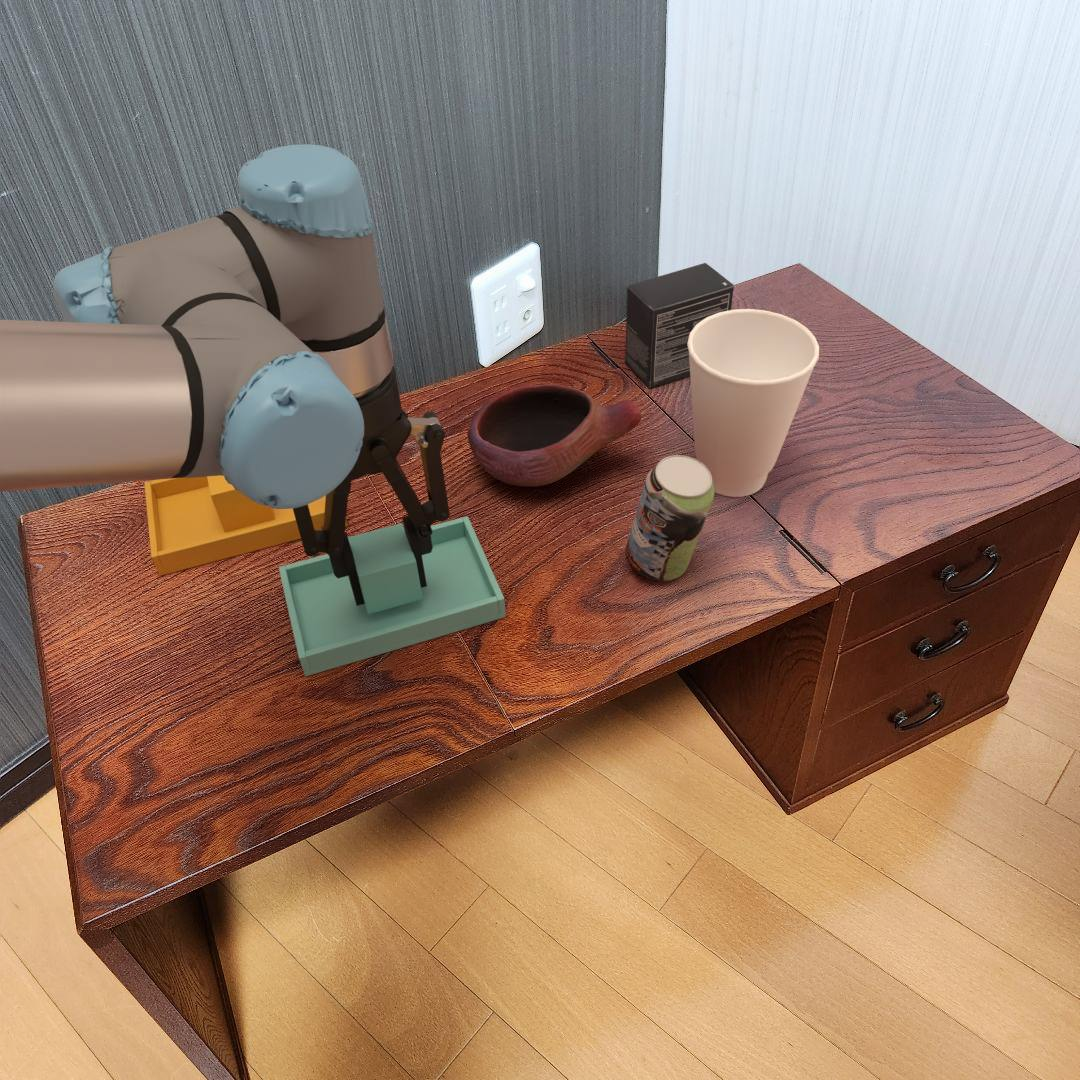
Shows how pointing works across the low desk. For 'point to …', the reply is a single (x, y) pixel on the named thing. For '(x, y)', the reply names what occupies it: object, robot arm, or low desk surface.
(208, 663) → the low desk surface
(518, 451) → the bowl
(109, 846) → the low desk surface
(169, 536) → the ochre tray
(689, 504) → the beverage can
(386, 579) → the teal block
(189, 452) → the robot arm
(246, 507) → the ochre block
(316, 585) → the teal tray
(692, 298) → the small box
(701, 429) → the cup
